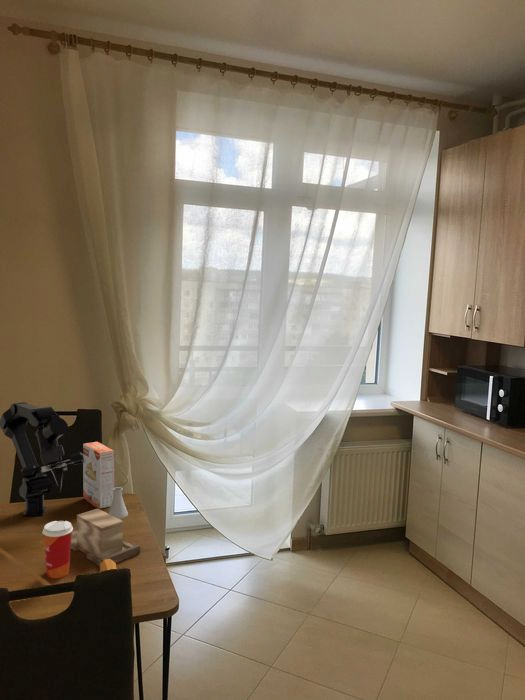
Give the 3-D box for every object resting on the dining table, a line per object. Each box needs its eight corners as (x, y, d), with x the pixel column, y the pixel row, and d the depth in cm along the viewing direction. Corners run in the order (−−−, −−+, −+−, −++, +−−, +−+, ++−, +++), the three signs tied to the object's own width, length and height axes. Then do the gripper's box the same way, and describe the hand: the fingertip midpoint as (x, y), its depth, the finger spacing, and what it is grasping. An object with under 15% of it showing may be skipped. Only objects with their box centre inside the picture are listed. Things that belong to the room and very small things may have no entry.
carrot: (101, 574, 153) (95, 561, 152) (117, 565, 155) (111, 553, 153) (116, 620, 136) (109, 607, 134) (133, 610, 137) (127, 597, 136)
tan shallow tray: (38, 545, 166) (38, 536, 166) (103, 523, 183) (103, 515, 183) (86, 577, 150) (86, 566, 149) (153, 550, 166) (153, 540, 166)
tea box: (76, 544, 167) (76, 514, 166) (97, 536, 172) (97, 508, 171) (101, 559, 158) (101, 528, 157) (122, 550, 163) (123, 521, 162)
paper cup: (47, 568, 153) (47, 519, 152) (76, 568, 154) (76, 519, 153) (38, 583, 146) (38, 531, 144) (68, 583, 146) (68, 531, 145)
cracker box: (82, 499, 204) (82, 443, 202) (97, 495, 208) (98, 440, 206) (98, 511, 193) (98, 452, 191) (114, 507, 197) (115, 449, 195)
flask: (122, 522, 185) (123, 493, 184) (102, 520, 186) (102, 491, 185) (132, 514, 192) (132, 486, 191) (112, 512, 193) (112, 484, 192)
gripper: (13, 448, 170) (23, 498, 166) (76, 431, 175) (87, 479, 171) (19, 454, 180) (29, 502, 176) (79, 438, 186) (90, 484, 182)
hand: (59, 491), depth 176 cm, fingers closed
